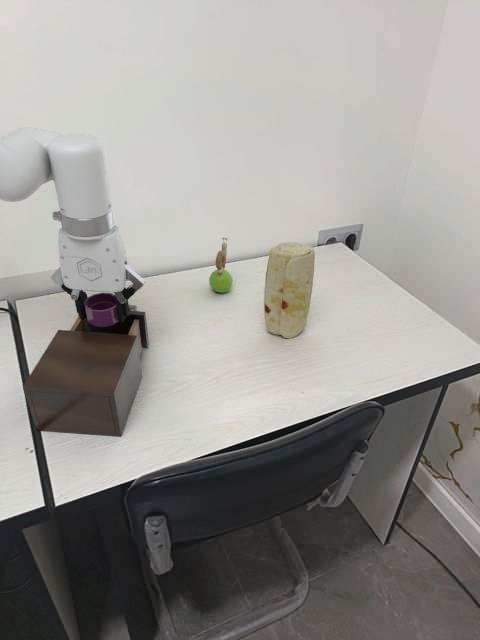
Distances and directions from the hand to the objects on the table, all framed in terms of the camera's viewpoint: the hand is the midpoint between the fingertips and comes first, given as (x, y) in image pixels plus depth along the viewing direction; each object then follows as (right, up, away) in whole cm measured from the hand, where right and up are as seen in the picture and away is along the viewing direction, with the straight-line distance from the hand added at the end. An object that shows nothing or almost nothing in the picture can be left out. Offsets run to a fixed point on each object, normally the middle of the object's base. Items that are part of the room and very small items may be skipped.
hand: (104, 316), depth 88 cm
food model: (+33, -2, +18) cm, 37 cm away
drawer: (-1, -7, +6) cm, 10 cm away
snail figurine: (+18, +8, +29) cm, 36 cm away
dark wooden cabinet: (-1, -15, -2) cm, 15 cm away
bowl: (0, 0, 0) cm, 1 cm away
